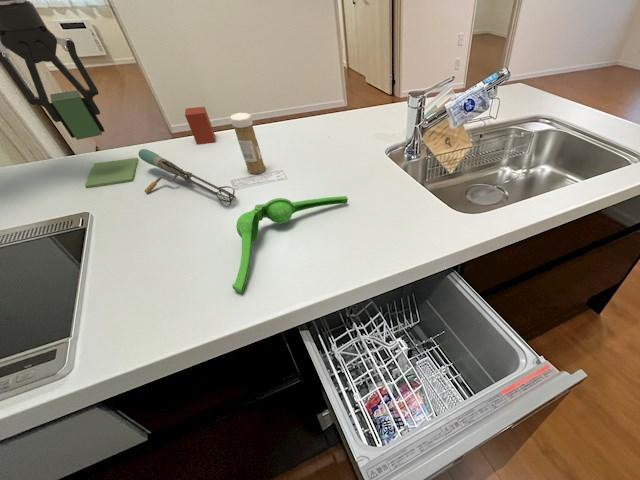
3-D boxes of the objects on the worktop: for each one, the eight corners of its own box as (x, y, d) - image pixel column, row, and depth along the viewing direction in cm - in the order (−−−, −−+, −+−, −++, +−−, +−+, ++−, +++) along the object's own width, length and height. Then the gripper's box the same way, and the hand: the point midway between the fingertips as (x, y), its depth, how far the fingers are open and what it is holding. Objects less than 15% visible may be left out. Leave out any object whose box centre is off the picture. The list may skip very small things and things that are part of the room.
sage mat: (95, 165, 90) (94, 163, 90) (138, 159, 93) (137, 157, 92) (86, 188, 83) (84, 185, 82) (133, 181, 85) (131, 178, 85)
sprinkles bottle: (269, 168, 91) (254, 114, 81) (257, 176, 88) (240, 120, 78) (255, 164, 92) (239, 110, 82) (243, 172, 89) (225, 116, 79)
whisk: (219, 236, 78) (200, 219, 72) (128, 186, 87) (105, 167, 81) (248, 201, 81) (232, 182, 75) (158, 156, 90) (137, 136, 84)
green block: (75, 132, 81) (49, 94, 75) (99, 127, 83) (77, 90, 77) (76, 139, 78) (51, 101, 72) (102, 134, 80) (79, 96, 74)
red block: (197, 137, 103) (185, 108, 97) (215, 135, 104) (204, 106, 98) (197, 144, 99) (184, 115, 94) (215, 142, 101) (204, 112, 95)
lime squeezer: (242, 295, 60) (230, 269, 56) (195, 272, 64) (180, 245, 59) (350, 204, 80) (348, 179, 76) (310, 190, 84) (305, 165, 79)
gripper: (-66, 8, 57) (40, 148, 74) (65, 0, 64) (134, 129, 82) (-60, 1, 61) (39, 136, 78) (62, -5, 68) (129, 119, 86)
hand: (87, 132), depth 80 cm, fingers closed on green block, 5 cm apart
